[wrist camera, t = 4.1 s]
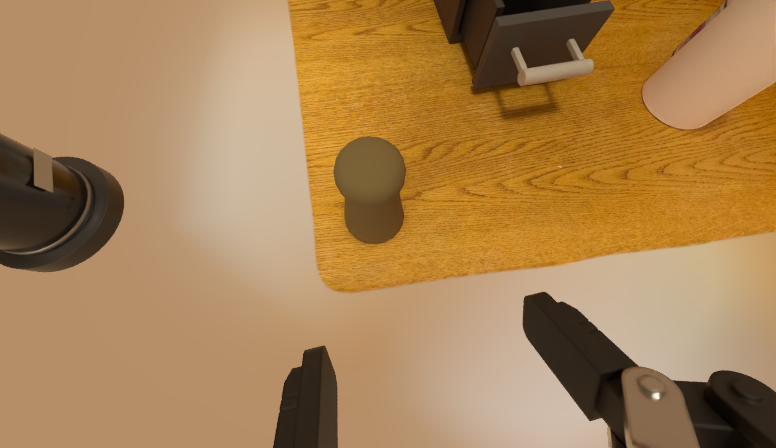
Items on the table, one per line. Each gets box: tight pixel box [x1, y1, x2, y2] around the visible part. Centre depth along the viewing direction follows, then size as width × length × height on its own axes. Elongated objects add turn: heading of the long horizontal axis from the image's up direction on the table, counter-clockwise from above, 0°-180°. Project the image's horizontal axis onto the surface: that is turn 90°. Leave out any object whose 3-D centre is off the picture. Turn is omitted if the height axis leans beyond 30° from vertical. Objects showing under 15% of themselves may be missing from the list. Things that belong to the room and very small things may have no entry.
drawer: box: [459, 0, 615, 89], centre depth 33 cm, size 18×11×8 cm, turn 12°
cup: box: [642, 0, 776, 130], centre depth 28 cm, size 8×8×16 cm
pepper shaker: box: [334, 136, 406, 244], centre depth 25 cm, size 6×6×11 cm
